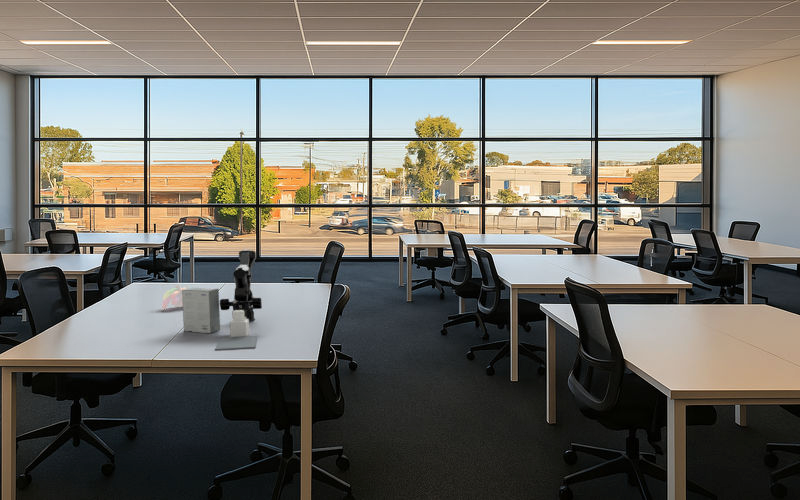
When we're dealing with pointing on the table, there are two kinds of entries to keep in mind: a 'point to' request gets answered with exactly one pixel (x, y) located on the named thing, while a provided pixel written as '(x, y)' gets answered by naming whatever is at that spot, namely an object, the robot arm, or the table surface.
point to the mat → (236, 342)
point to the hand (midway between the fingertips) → (240, 318)
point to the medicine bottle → (239, 323)
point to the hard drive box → (201, 310)
